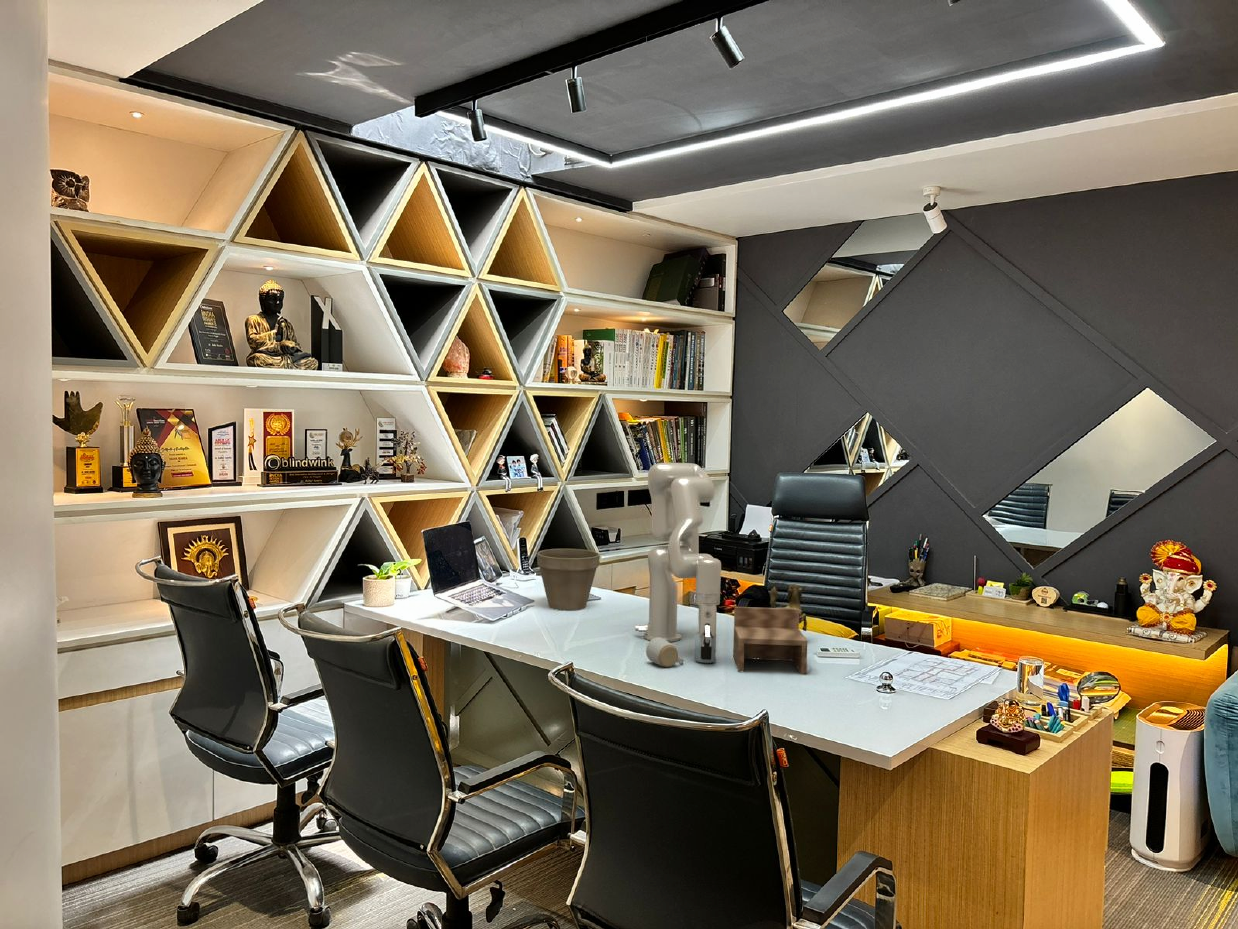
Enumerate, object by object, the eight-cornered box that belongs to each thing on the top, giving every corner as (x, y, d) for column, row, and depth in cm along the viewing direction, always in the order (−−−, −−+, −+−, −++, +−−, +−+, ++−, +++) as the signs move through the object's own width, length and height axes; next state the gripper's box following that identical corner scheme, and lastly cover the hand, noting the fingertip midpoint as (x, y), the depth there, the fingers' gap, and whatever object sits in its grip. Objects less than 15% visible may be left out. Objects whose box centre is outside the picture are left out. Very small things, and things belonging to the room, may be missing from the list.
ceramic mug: (658, 669, 269) (659, 643, 268) (645, 662, 276) (646, 637, 276) (689, 666, 273) (690, 641, 273) (674, 660, 281) (675, 635, 280)
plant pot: (587, 616, 343) (588, 558, 342) (526, 610, 350) (527, 554, 349) (606, 604, 367) (607, 550, 366) (549, 599, 374) (550, 547, 373)
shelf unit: (738, 671, 268) (740, 618, 268) (733, 657, 286) (734, 606, 285) (806, 674, 267) (808, 620, 267) (796, 659, 285) (798, 608, 284)
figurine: (817, 642, 309) (819, 583, 309) (773, 653, 292) (776, 591, 291) (786, 635, 319) (788, 578, 318) (742, 646, 301) (744, 585, 300)
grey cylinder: (695, 662, 276) (696, 636, 275) (694, 656, 282) (695, 631, 282) (716, 663, 276) (717, 637, 275) (714, 657, 282) (715, 632, 282)
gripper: (721, 604, 269) (719, 664, 270) (717, 593, 286) (715, 649, 287) (696, 603, 269) (694, 663, 270) (693, 592, 287) (691, 648, 288)
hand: (705, 655), depth 279 cm, fingers closed on grey cylinder, 6 cm apart
